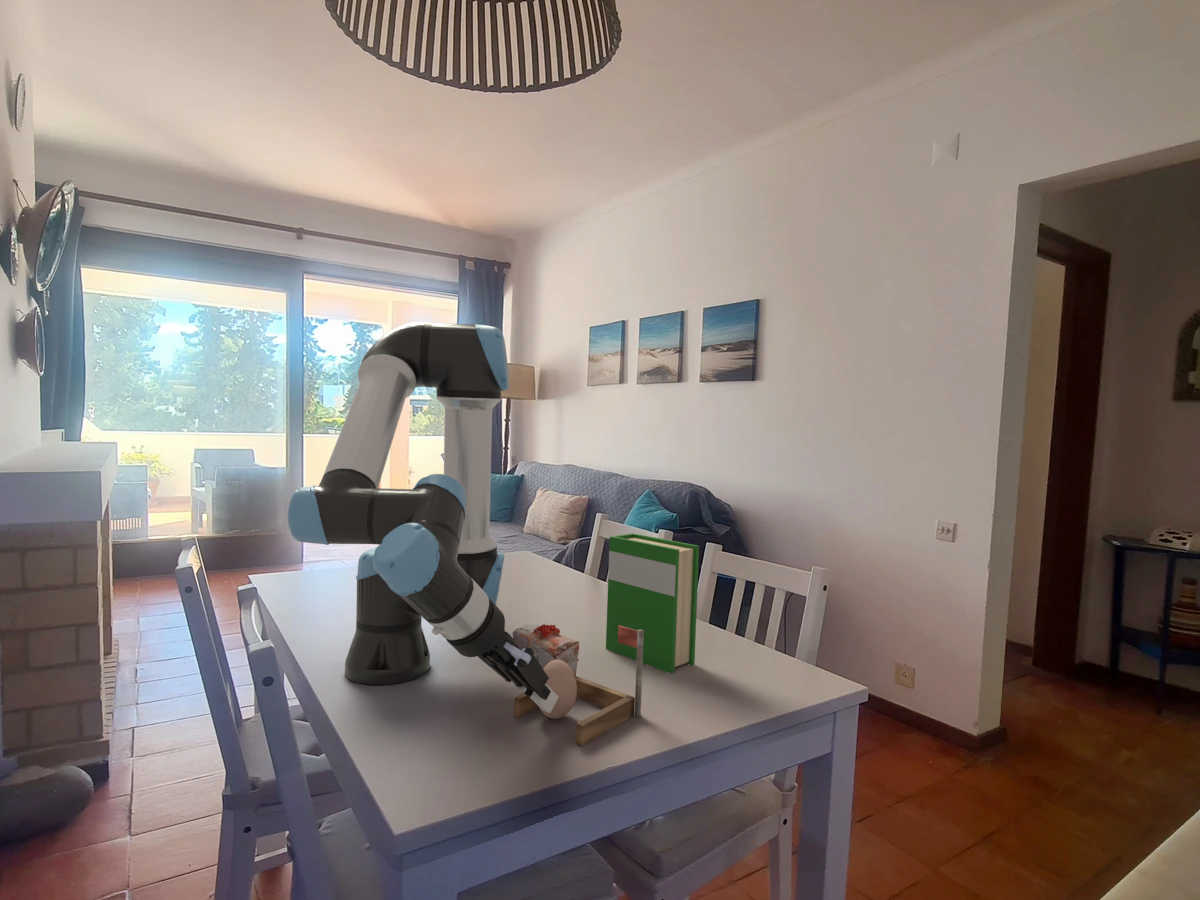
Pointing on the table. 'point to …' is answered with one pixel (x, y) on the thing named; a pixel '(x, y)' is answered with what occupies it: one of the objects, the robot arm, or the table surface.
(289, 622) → the table surface
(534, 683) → the robot arm
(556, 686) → the egg
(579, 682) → the mini golf hole
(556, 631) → the food item
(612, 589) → the hardback book
